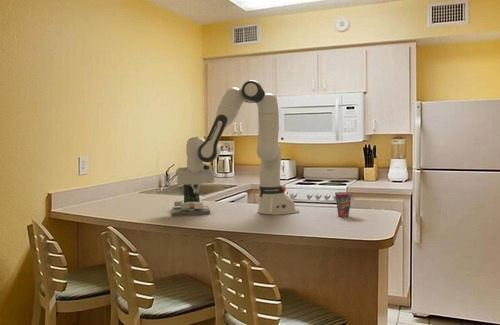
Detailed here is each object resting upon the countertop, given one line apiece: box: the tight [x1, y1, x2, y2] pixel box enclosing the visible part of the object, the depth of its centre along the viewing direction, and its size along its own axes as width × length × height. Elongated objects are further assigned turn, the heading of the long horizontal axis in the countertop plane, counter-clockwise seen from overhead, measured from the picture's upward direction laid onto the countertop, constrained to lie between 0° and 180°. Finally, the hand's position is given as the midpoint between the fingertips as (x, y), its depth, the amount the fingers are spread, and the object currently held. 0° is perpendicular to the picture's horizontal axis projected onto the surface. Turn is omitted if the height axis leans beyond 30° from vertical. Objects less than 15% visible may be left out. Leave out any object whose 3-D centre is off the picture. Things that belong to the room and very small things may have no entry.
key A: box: [194, 201, 204, 208], centre depth 240 cm, size 4×4×2 cm
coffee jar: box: [183, 184, 201, 203], centre depth 259 cm, size 10×8×19 cm
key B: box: [180, 202, 190, 209], centre depth 239 cm, size 4×4×2 cm
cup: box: [334, 191, 355, 219], centre depth 223 cm, size 9×8×12 cm
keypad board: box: [171, 205, 211, 217], centre depth 244 cm, size 20×18×2 cm
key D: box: [173, 200, 184, 207], centre depth 247 cm, size 4×4×2 cm
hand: (196, 192), depth 243 cm, fingers closed
